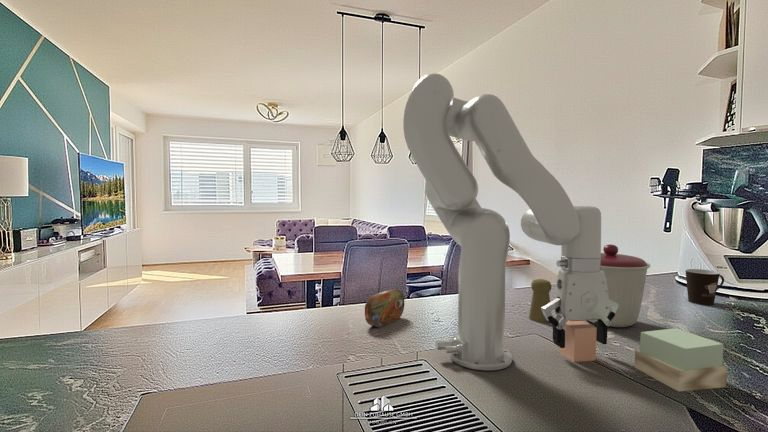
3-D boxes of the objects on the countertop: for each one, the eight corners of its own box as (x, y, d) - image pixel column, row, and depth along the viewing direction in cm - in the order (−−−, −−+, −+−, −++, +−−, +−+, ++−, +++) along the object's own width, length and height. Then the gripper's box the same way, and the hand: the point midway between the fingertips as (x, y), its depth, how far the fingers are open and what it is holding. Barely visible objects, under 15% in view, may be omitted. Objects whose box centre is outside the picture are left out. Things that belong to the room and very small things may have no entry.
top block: (684, 371, 72) (685, 348, 72) (639, 352, 81) (640, 332, 80) (722, 365, 74) (723, 344, 74) (675, 347, 83) (676, 328, 83)
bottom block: (678, 393, 72) (679, 371, 72) (634, 369, 82) (635, 350, 82) (726, 389, 74) (727, 367, 73) (677, 366, 84) (678, 346, 83)
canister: (557, 315, 116) (559, 242, 115) (604, 309, 122) (606, 239, 121) (612, 336, 99) (615, 250, 98) (664, 328, 105) (667, 247, 104)
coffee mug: (690, 305, 127) (692, 273, 127) (679, 298, 135) (680, 268, 135) (735, 308, 124) (737, 275, 123) (721, 300, 132) (723, 270, 131)
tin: (371, 331, 103) (371, 298, 103) (362, 328, 105) (362, 296, 105) (405, 316, 115) (405, 287, 115) (396, 314, 117) (396, 285, 116)
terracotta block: (573, 362, 84) (574, 328, 84) (559, 352, 89) (560, 321, 89) (595, 360, 85) (596, 327, 85) (580, 351, 90) (581, 320, 90)
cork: (548, 316, 116) (549, 277, 115) (555, 322, 110) (556, 282, 109) (526, 315, 116) (527, 277, 116) (532, 322, 110) (532, 281, 110)
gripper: (553, 270, 81) (552, 354, 82) (630, 265, 84) (629, 347, 85) (533, 263, 89) (533, 340, 90) (605, 259, 91) (604, 334, 92)
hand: (580, 343), depth 87 cm, fingers open, 9 cm apart
